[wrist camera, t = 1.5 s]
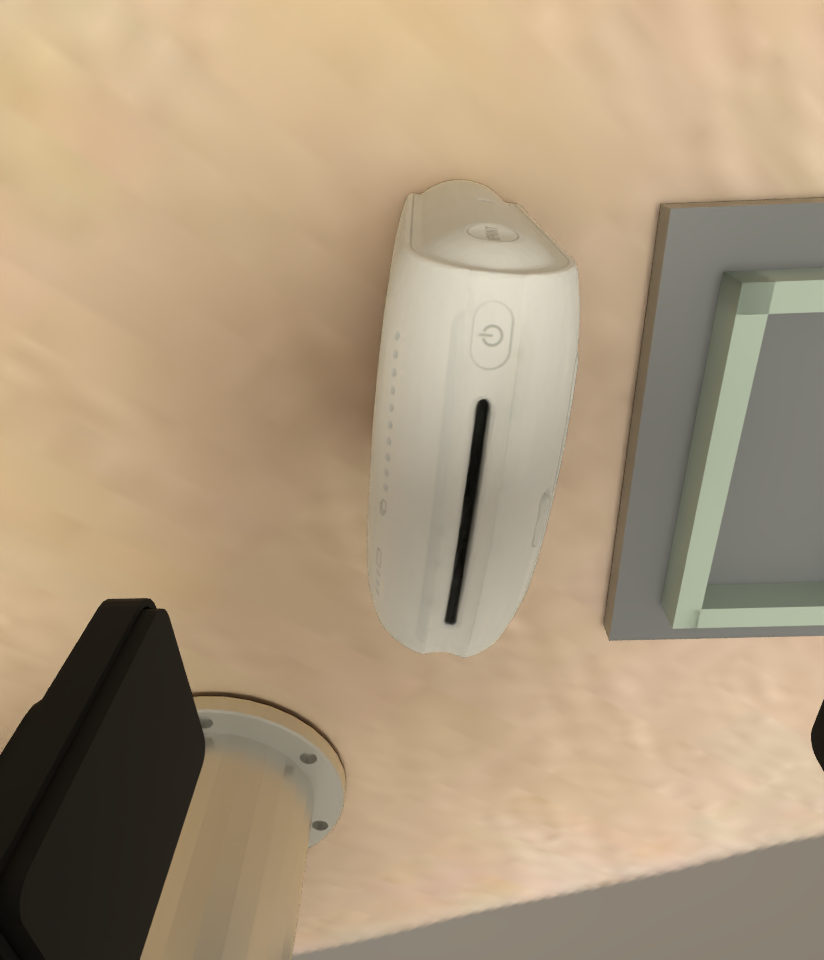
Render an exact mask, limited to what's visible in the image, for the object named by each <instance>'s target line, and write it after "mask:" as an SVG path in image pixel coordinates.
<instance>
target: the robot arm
mask: <svg viewBox="0 0 824 960" xmlns="http://www.w3.org/2000/svg"><path fill="white" fill-rule="evenodd" d="M811 742H812V748H813V751H814V754H815V756H816V758H817V760H818V762H819V764H820V765H821V767H822V769H823V771H824V700H823V703H822V705H821V708H820V710H819V713H818V715H817V718H816V720H815V723H814V725H813V728H812V732H811ZM345 789H346V782H345V774H344V769H343V767H342V764H341V762H340V760H339V758H338V755H337V754H336V753H335V751H334V750H333V749H332V747H331V746H330V745H329V743H328V742H327V741H326V740H325V739H324V738H323V737H322V736H321V735H319V734H318V733H317V732H316V731H315V730H314V729H313V728H311V727H310V726H308V725H307V724H305V723H304V722H302V721H300V720H299V719H297V718H296V717H294V716H292V715H290V714H288V713H285V712H283V711H281V710H278V709H276V708H274V707H271V706H268V705H264V704H261V703H257V702H254V701H250V700H245V699H238V698H231V697H222V696H198V697H193V696H192V692H191V689H190V686H189V682H188V679H187V676H186V672H185V669H184V665H183V662H182V659H181V655H180V652H179V649H178V645H177V642H176V638H175V635H174V632H173V628H172V625H171V622H170V618H169V615H168V613H167V611H166V610H165V609H157V608H156V606H155V604H154V602H153V601H152V600H151V599H148V598H136V599H107V600H105V601H103V602H102V604H101V605H100V606H99V607H98V609H97V611H96V612H95V614H94V616H93V617H92V619H91V621H90V622H89V624H88V625H87V627H86V629H85V630H84V632H83V634H82V635H81V637H80V638H79V640H78V642H77V643H76V645H75V647H74V648H73V650H72V652H71V653H70V655H69V656H68V658H67V660H66V661H65V663H64V665H63V666H62V668H61V669H60V671H59V673H58V674H57V676H56V678H55V679H54V681H53V682H52V684H51V686H50V687H49V689H48V691H47V692H46V694H45V696H44V697H43V699H42V700H40V701H39V702H37V703H36V704H34V705H33V706H32V707H31V709H30V710H29V711H28V713H27V714H26V715H25V716H24V718H23V720H22V721H21V723H20V724H19V726H18V728H17V729H16V731H15V732H14V734H13V736H12V737H11V739H10V740H9V742H8V744H7V745H6V747H5V748H4V750H3V752H2V753H1V755H0V960H292V954H293V947H294V941H295V934H296V927H297V920H298V913H299V906H300V900H301V893H302V886H303V879H304V872H305V865H306V858H307V852H308V848H310V847H311V846H313V845H315V844H316V843H318V842H320V841H321V840H322V839H323V838H324V837H325V836H326V835H327V834H329V833H330V832H331V831H332V829H333V828H334V826H335V825H336V823H337V822H338V820H339V819H340V816H341V813H342V810H343V807H344V799H345Z"/></svg>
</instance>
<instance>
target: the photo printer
mask: <svg viewBox="0 0 824 960" xmlns="http://www.w3.org/2000/svg"><path fill="white" fill-rule="evenodd" d="M579 323H580V295H579V277H578V270H577V264H576V262H575V260H574V259H573V258H572V257H571V256H570V255H569V254H568V253H567V252H566V251H564V250H563V248H562V247H561V246H560V245H559V244H558V243H557V242H556V241H555V240H554V239H553V238H551V237H550V235H549V234H548V233H547V232H546V231H545V230H544V229H543V228H542V227H541V226H540V225H539V224H538V223H537V222H536V221H535V220H534V219H533V218H532V217H531V216H530V215H529V214H528V213H527V212H526V211H525V210H524V209H523V208H522V206H520V205H519V204H516V203H506V202H504V201H503V200H502V199H501V198H500V197H499V196H498V195H497V194H496V193H495V192H494V191H493V190H491V189H489V188H488V187H486V186H484V185H482V184H480V183H477V182H473V181H468V180H451V181H446V182H442V183H439V184H437V185H435V186H433V187H431V188H429V189H427V190H426V191H425V192H424V193H422V194H415V193H411V194H409V195H408V196H407V198H406V201H405V204H404V207H403V211H402V214H401V218H400V222H399V226H398V230H397V234H396V239H395V245H394V250H393V255H392V262H391V269H390V276H389V282H388V289H387V296H386V303H385V310H384V317H383V326H382V334H381V343H380V352H379V362H378V371H377V382H376V393H375V405H374V418H373V431H372V446H371V462H370V481H369V502H368V532H367V569H368V580H369V587H370V592H371V596H372V600H373V604H374V607H375V610H376V613H377V616H378V618H379V620H380V622H381V624H382V625H383V627H384V628H385V630H386V631H387V632H388V633H389V634H390V635H391V636H392V637H393V638H394V639H395V640H397V641H398V642H400V643H401V644H402V645H404V646H405V647H407V648H409V649H411V650H413V651H415V652H417V653H420V654H425V653H432V652H446V653H451V654H454V655H458V656H460V657H463V658H465V657H470V656H473V655H476V654H478V653H480V652H482V651H484V650H485V649H487V648H489V647H490V646H492V645H493V644H494V643H495V642H496V641H497V640H498V639H499V637H500V636H501V635H502V633H503V632H504V630H505V629H506V627H507V626H508V624H509V623H510V621H511V620H512V618H513V617H514V615H515V613H516V611H517V609H518V607H519V605H520V604H521V602H522V601H523V599H524V596H525V594H526V592H527V589H528V586H529V583H530V581H531V578H532V575H533V572H534V569H535V566H536V563H537V559H538V555H539V552H540V549H541V546H542V542H543V538H544V534H545V530H546V527H547V523H548V519H549V515H550V511H551V507H552V502H553V498H554V493H555V489H556V484H557V480H558V475H559V471H560V466H561V461H562V456H563V452H564V447H565V442H566V436H567V431H568V423H569V419H570V413H571V407H572V401H573V393H574V387H575V380H576V374H577V367H578V342H579Z"/></svg>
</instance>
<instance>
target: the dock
mask: <svg viewBox="0 0 824 960" xmlns="http://www.w3.org/2000/svg"><path fill="white" fill-rule="evenodd" d="M604 627H605V630H606V633H607V636H608V639H609V641H612V640H656V639H700V638H744V637H788V636H824V197H823V198H798V199H772V200H747V201H722V202H697V203H672V204H661V206H660V213H659V221H658V228H657V235H656V243H655V250H654V258H653V265H652V272H651V280H650V287H649V295H648V302H647V309H646V317H645V324H644V332H643V339H642V346H641V354H640V361H639V369H638V376H637V383H636V391H635V398H634V406H633V413H632V420H631V428H630V435H629V443H628V450H627V457H626V465H625V472H624V480H623V487H622V494H621V502H620V509H619V517H618V524H617V531H616V539H615V546H614V554H613V561H612V568H611V576H610V583H609V591H608V598H607V605H606V613H605V620H604Z"/></svg>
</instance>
